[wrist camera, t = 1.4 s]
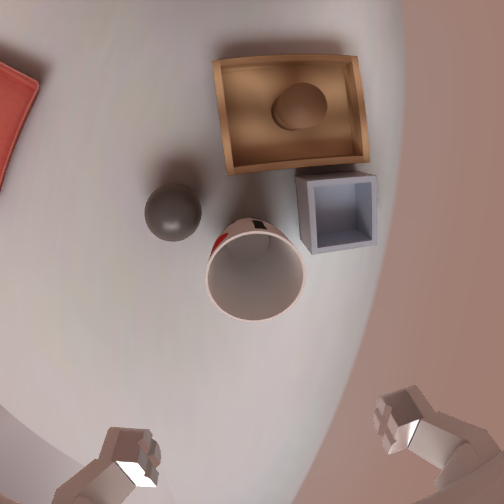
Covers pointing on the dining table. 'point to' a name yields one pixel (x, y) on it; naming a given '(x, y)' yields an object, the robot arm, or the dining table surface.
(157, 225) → the dark gray ball
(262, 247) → the cup
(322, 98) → the walnut peg
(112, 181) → the dining table surface
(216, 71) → the oak tray
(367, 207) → the pen pot
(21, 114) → the plant saucer
